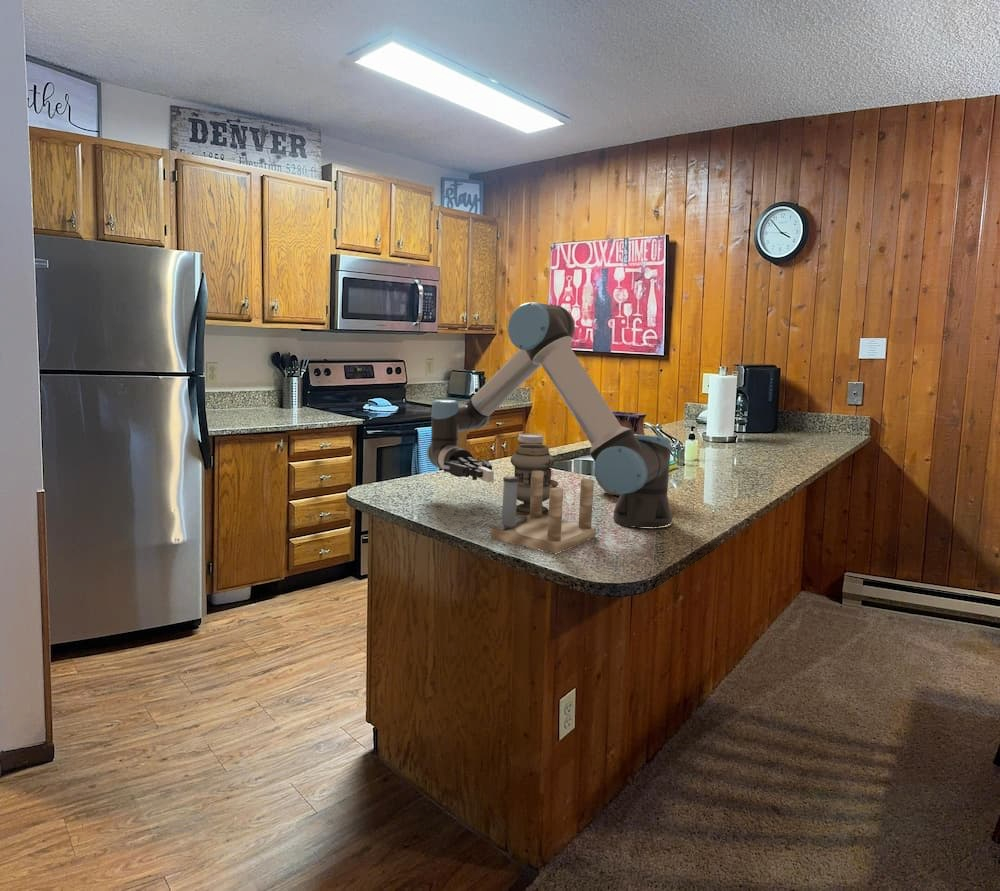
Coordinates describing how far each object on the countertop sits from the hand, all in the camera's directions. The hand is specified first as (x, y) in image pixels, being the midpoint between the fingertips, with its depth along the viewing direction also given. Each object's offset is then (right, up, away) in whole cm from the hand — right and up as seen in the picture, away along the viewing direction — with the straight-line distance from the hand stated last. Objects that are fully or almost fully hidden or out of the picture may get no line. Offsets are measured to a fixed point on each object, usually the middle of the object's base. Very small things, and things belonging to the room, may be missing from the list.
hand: (490, 476), depth 171 cm
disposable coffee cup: (+13, -1, +84) cm, 85 cm away
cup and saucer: (+15, -6, +52) cm, 55 cm away
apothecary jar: (+11, -10, +22) cm, 27 cm away
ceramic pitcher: (+39, -7, +49) cm, 63 cm away
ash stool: (+13, -14, -3) cm, 19 cm away
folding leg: (+6, -11, -3) cm, 13 cm away
